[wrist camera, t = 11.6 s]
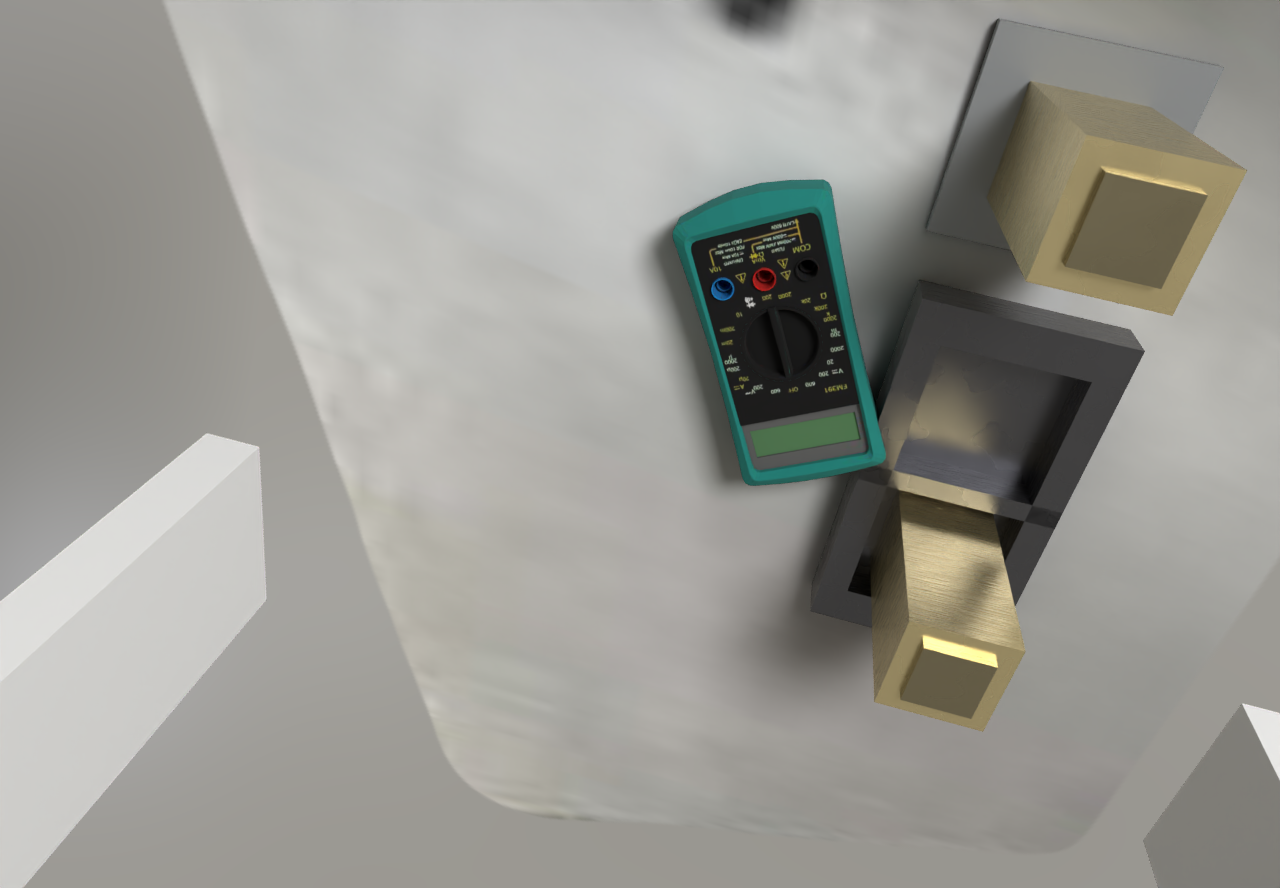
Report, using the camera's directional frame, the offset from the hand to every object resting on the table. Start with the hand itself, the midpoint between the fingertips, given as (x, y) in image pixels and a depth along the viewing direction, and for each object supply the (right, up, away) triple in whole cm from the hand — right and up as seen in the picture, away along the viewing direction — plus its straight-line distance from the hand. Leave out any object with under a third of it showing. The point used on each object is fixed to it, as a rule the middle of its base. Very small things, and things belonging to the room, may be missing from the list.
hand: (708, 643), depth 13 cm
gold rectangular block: (+15, -2, +38) cm, 41 cm away
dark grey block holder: (+16, +1, +36) cm, 40 cm away
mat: (+17, +15, +28) cm, 36 cm away
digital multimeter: (+6, +8, +34) cm, 36 cm away
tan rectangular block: (+17, +15, +27) cm, 36 cm away
